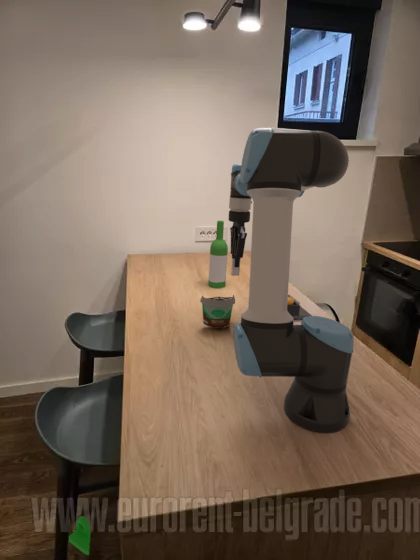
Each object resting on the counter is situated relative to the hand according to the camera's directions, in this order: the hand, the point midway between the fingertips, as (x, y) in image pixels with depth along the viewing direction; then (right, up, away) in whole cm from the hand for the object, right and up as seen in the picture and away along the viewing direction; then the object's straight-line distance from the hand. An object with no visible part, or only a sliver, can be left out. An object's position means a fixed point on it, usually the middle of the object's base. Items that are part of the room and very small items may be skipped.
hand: (235, 275), depth 140 cm
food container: (-6, -18, -9) cm, 21 cm away
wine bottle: (-6, -5, +32) cm, 33 cm away
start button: (+19, -12, +1) cm, 23 cm away
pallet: (+18, -13, +9) cm, 24 cm away
